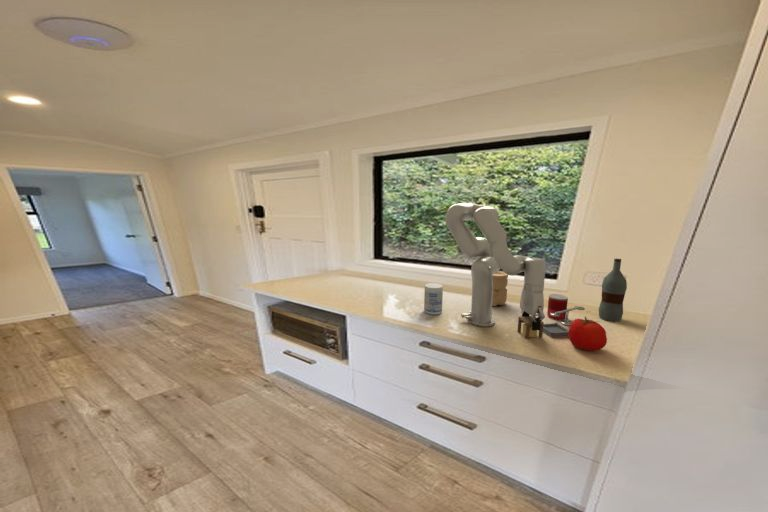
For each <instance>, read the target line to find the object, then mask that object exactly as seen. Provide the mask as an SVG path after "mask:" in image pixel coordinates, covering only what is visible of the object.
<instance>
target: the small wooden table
mask: <svg viewBox="0 0 768 512" xmlns="http://www.w3.org/2000/svg"><path fill="white" fill-rule="evenodd" d="M517 320H518V321H517V332H518V333H522V325H523V324H525V323H526V334H525V335H524V338H525V339H526V340H529V339H530V337H529V330H530V325H532V322H533V321H534V320H533V316H532V315H529V316H522V315H520V316H518V319H517ZM522 321H523V322H524V323H522ZM543 324H545V323H544V321H543V320H542V322H540V330H538V338H539V339H542V338H543V334H544V332H543Z"/></svg>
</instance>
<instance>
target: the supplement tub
mask: <svg viewBox="0 0 768 512" xmlns="http://www.w3.org/2000/svg"><path fill="white" fill-rule="evenodd" d="M443 289H444V287H443V285H442V284H440V283H436V282H435V283H433V282H431V283H430V282H429V283H426V284H425V285H424V298H423V299H424V300H423V304H424V305H423V311H424V312H425V313H426V314H428V315H431V316H432V315H435V316H436V315H439V314H441V313H442V312H443V298H444V297H443V293H444V292H443Z"/></svg>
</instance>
